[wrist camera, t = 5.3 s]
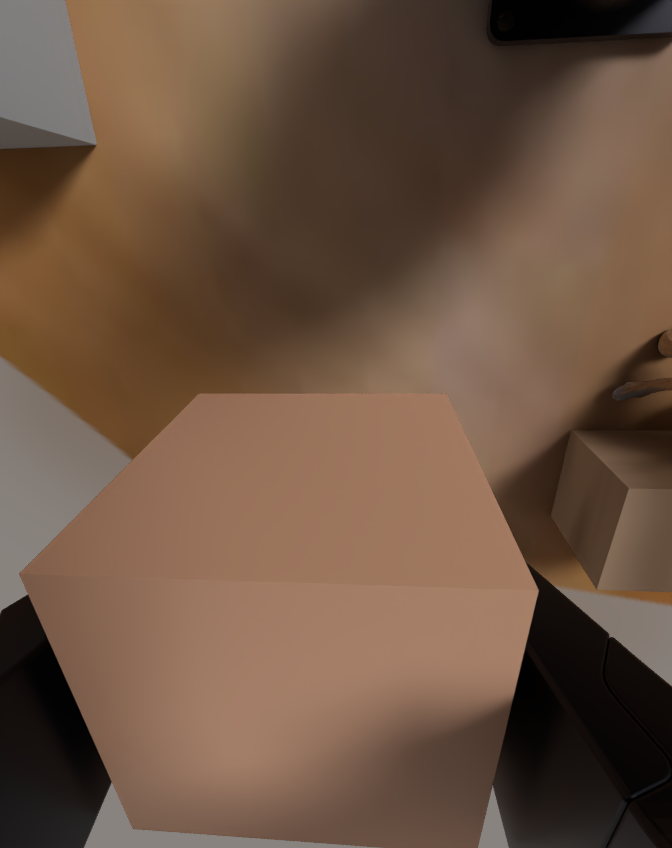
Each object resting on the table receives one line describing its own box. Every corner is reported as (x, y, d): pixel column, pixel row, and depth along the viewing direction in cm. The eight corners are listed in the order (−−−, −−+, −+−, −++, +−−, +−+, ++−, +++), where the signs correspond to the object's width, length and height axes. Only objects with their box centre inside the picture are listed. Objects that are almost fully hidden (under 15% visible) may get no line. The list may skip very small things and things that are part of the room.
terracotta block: (446, 393, 8) (539, 590, 4) (428, 583, 10) (475, 854, 6) (198, 393, 9) (19, 574, 4) (230, 577, 11) (133, 828, 6)
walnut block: (681, 430, 20) (775, 491, 15) (650, 517, 22) (724, 594, 17) (570, 429, 20) (628, 488, 16) (550, 515, 22) (596, 589, 18)
